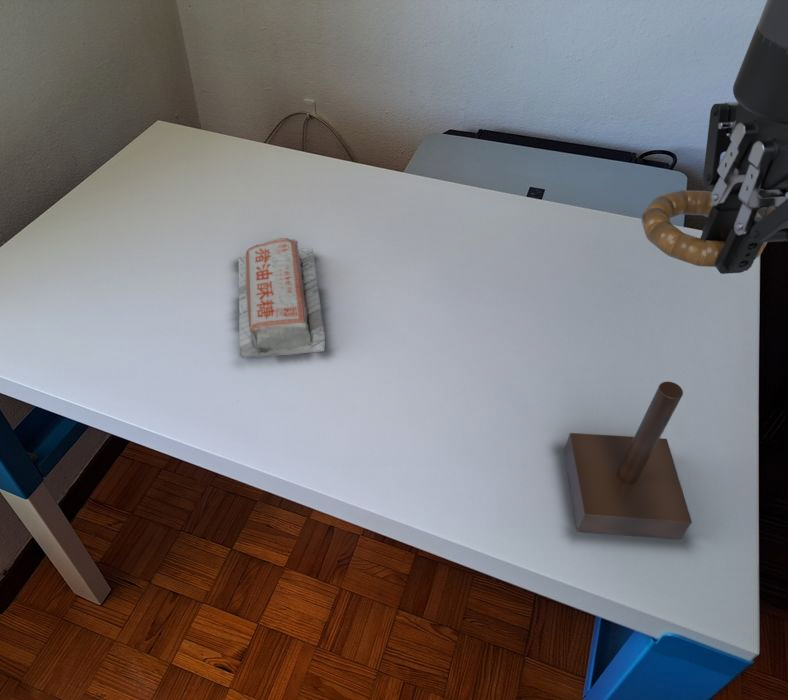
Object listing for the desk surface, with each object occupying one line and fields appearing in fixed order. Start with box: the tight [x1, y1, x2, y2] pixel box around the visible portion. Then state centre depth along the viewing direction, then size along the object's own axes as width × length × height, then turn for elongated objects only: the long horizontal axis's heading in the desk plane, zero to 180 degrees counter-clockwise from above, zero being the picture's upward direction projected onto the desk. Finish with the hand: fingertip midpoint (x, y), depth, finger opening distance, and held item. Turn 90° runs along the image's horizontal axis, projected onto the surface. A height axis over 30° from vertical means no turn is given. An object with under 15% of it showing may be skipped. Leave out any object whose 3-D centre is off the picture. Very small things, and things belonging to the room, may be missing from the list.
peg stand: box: [563, 381, 693, 540], centre depth 59 cm, size 9×9×15 cm
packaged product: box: [238, 237, 326, 359], centre depth 83 cm, size 18×5×10 cm
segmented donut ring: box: [640, 189, 768, 268], centre depth 55 cm, size 9×9×2 cm
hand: (720, 257), depth 53 cm, fingers closed on segmented donut ring, 2 cm apart
